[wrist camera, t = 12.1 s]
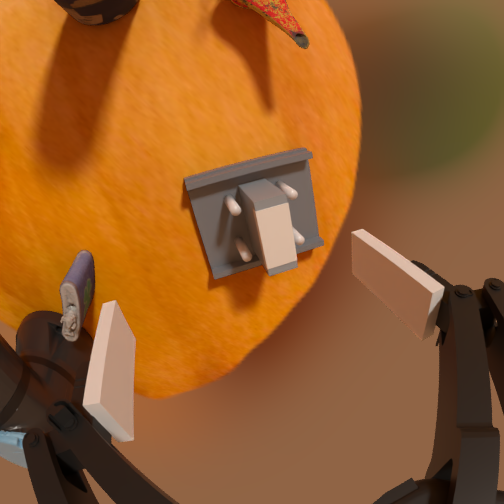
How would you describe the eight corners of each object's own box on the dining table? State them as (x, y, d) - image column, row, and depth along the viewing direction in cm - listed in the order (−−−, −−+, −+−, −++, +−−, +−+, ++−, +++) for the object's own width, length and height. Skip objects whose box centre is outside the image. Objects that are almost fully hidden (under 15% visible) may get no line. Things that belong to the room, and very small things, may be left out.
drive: (251, 247, 42) (269, 276, 35) (237, 185, 37) (253, 202, 30) (276, 240, 42) (298, 267, 35) (264, 177, 38) (286, 193, 31)
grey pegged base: (212, 272, 43) (219, 295, 38) (184, 177, 36) (185, 188, 31) (316, 239, 45) (335, 257, 40) (303, 147, 38) (323, 153, 33)
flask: (77, 247, 36) (54, 289, 27) (97, 251, 37) (78, 294, 28) (76, 302, 40) (59, 350, 30) (94, 306, 41) (80, 355, 31)
